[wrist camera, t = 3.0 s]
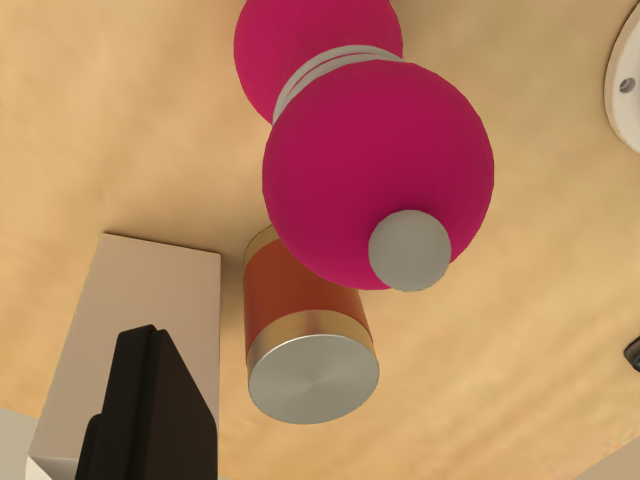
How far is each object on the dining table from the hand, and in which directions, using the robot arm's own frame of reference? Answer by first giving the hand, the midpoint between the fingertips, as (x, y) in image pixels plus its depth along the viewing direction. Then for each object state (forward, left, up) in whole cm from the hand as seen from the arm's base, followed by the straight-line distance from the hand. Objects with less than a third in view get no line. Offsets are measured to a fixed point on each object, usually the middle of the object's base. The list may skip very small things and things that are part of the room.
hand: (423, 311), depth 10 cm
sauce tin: (+4, +14, -21) cm, 26 cm away
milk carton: (+13, +13, -21) cm, 28 cm away
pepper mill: (0, 0, -21) cm, 21 cm away
